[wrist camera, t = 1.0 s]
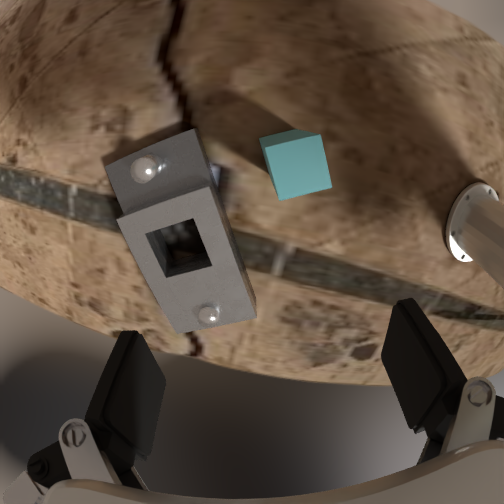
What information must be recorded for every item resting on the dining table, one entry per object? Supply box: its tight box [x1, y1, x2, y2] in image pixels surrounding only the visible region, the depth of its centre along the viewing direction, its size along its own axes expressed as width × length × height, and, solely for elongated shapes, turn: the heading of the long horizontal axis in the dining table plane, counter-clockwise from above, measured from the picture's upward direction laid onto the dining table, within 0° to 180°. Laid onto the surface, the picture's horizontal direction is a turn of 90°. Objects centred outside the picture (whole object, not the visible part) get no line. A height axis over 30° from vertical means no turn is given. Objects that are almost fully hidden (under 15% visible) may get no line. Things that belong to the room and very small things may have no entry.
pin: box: [259, 129, 332, 201], centre depth 23 cm, size 4×4×10 cm
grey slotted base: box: [105, 128, 257, 334], centre depth 29 cm, size 11×22×5 cm, turn 16°
